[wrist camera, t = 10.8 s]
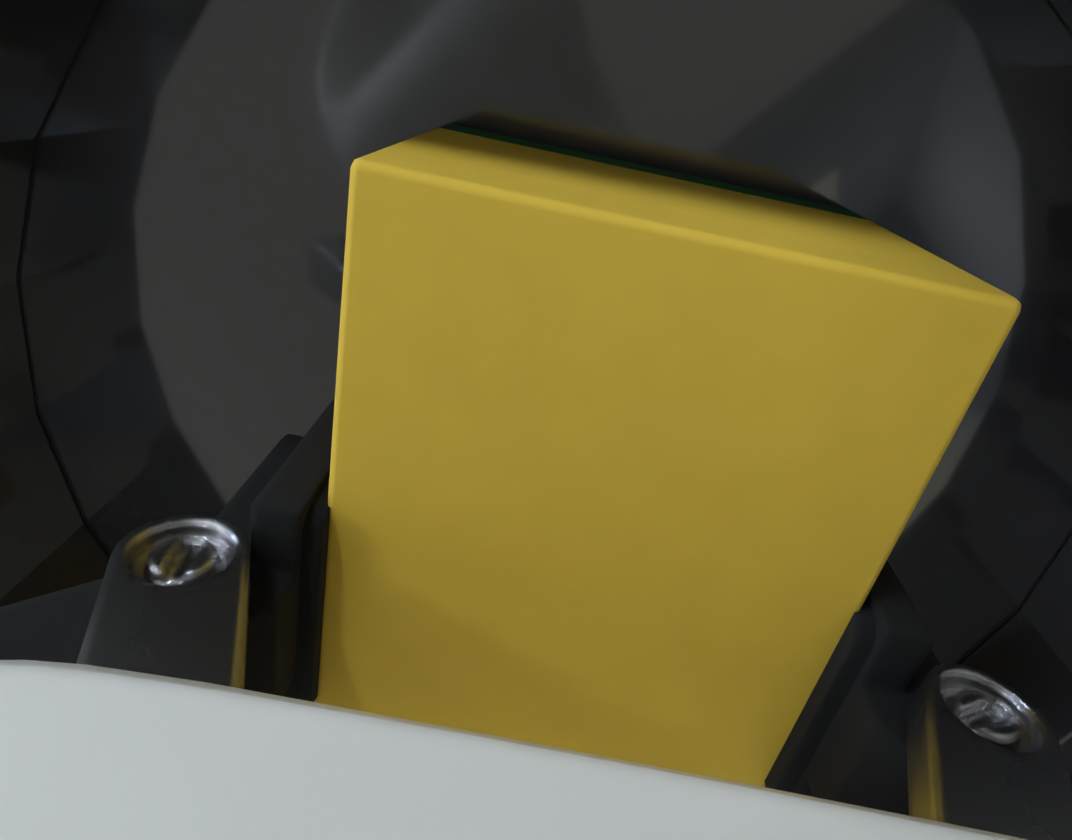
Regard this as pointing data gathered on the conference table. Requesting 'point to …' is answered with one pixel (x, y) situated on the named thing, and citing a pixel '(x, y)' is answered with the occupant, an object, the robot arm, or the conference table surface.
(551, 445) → the sponge
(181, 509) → the bowl
